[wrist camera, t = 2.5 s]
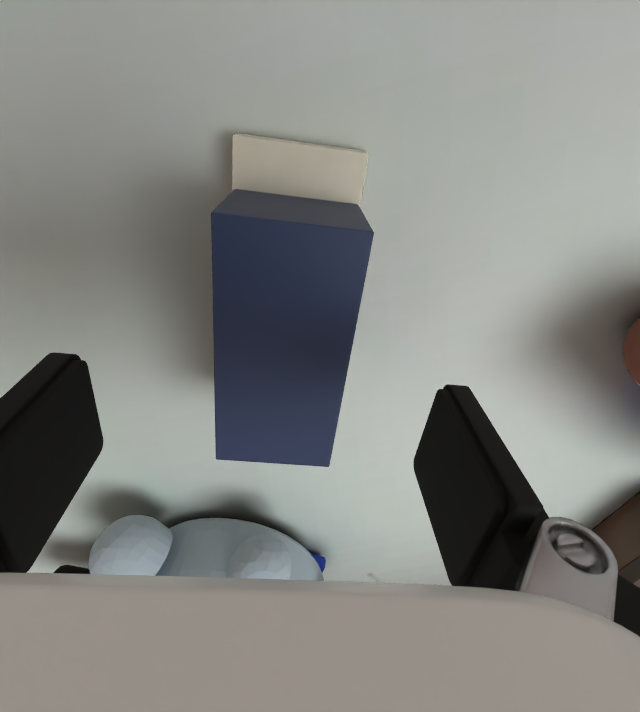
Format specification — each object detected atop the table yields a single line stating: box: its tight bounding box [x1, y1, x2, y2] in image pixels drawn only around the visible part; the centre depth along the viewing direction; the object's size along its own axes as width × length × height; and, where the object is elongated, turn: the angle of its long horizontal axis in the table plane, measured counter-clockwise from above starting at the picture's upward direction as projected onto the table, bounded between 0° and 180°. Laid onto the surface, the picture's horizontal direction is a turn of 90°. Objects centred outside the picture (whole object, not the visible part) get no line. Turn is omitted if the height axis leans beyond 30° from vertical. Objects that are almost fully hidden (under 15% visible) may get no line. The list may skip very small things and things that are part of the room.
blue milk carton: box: [211, 133, 374, 467], centre depth 16 cm, size 12×5×6 cm, turn 173°
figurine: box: [54, 515, 326, 581], centre depth 26 cm, size 17×8×20 cm
